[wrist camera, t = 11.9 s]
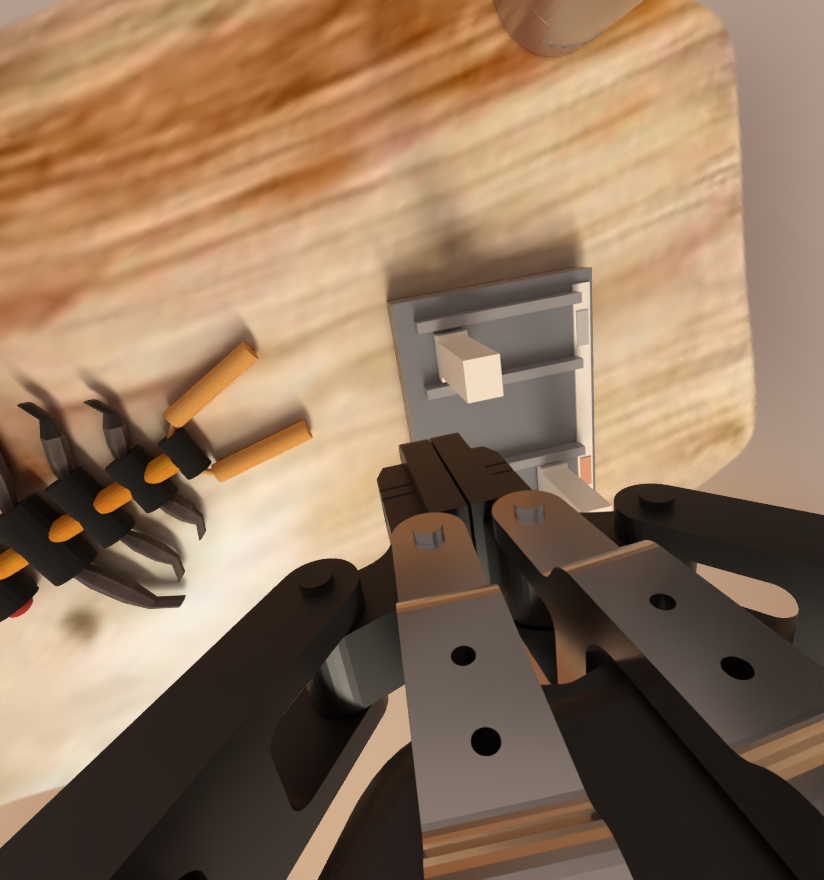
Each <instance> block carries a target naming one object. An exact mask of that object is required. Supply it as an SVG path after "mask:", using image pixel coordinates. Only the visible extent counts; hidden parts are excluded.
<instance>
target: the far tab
mask: <svg viewBox="0 0 824 880" xmlns="http://www.w3.org/2000/svg"><path fill="white" fill-rule="evenodd" d="M537 474H538V489H539V491H545V492H549V493H552V494H555V495H557V496H559V497H560V498H562V499H563V500H564V501H565V502H567V503H568V504H569V505H570V506H571V507H573V508H574V509H575V510H576V511H577V512H607V511H612V505H611V504H610V503H609V502H608V501H606V500H605V499H604V498H603V497H602V496H601V495H599V494H598V493H597V492H596V491H595V490H594V489H592V488H591V487H590V486H589V485H588V484H587V483H585V482H584V481H583V480H582V479H581V478H580V477H578V476H577V475H576V474H575V473H574V472H573V471H571V470H570V469H569V468H568V463H567V462H565V461H564V460H560V461H555V462H551V463H547V464H542V465H538V466H537Z"/></svg>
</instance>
